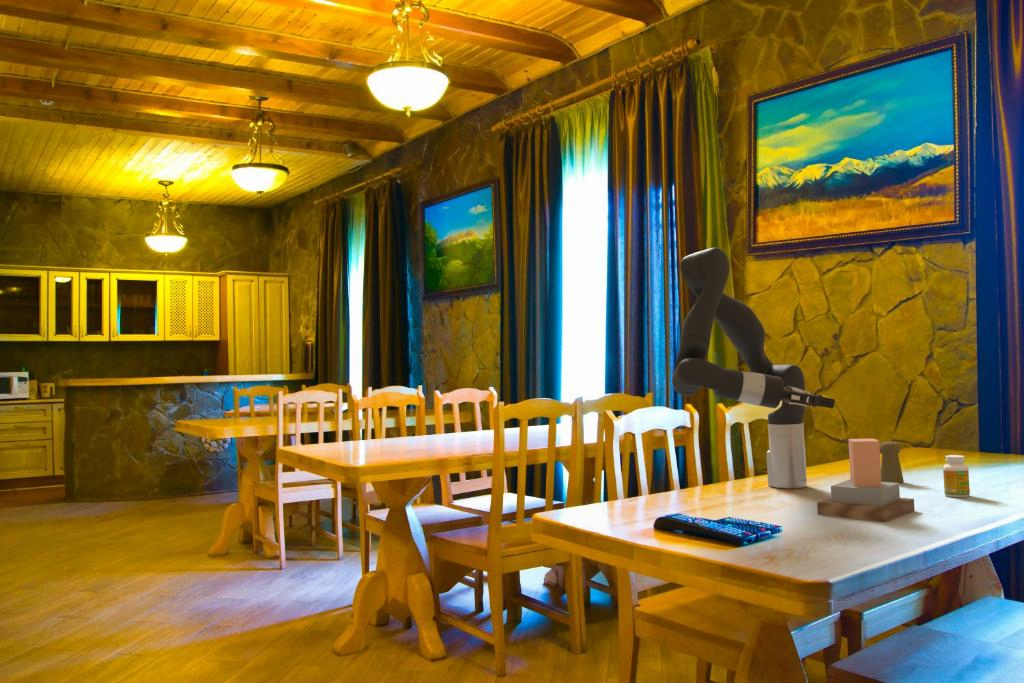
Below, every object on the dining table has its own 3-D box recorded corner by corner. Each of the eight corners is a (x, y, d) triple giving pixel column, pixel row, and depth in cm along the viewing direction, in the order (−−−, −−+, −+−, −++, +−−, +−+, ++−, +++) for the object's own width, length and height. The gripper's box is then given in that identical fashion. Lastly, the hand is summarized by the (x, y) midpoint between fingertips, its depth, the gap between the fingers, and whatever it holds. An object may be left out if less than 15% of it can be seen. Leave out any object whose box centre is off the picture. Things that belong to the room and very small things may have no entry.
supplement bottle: (959, 498, 192) (956, 457, 192) (939, 495, 197) (937, 455, 197) (975, 496, 194) (972, 456, 194) (955, 493, 199) (953, 454, 199)
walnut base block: (818, 517, 181) (817, 502, 181) (849, 507, 191) (848, 492, 191) (885, 525, 170) (884, 508, 170) (914, 514, 180) (913, 498, 180)
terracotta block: (854, 486, 179) (852, 441, 179) (850, 482, 184) (848, 439, 184) (881, 486, 178) (879, 441, 178) (876, 482, 183) (874, 438, 183)
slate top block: (831, 501, 181) (830, 486, 181) (850, 494, 189) (849, 479, 189) (882, 506, 173) (881, 489, 173) (899, 498, 181) (899, 483, 181)
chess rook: (908, 483, 216) (905, 442, 216) (885, 484, 216) (883, 443, 216) (897, 480, 222) (895, 440, 222) (875, 481, 222) (873, 441, 222)
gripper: (769, 376, 182) (841, 389, 181) (754, 371, 196) (821, 383, 195) (763, 408, 182) (835, 421, 181) (748, 401, 197) (815, 413, 196)
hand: (827, 401), depth 188 cm, fingers open, 8 cm apart
